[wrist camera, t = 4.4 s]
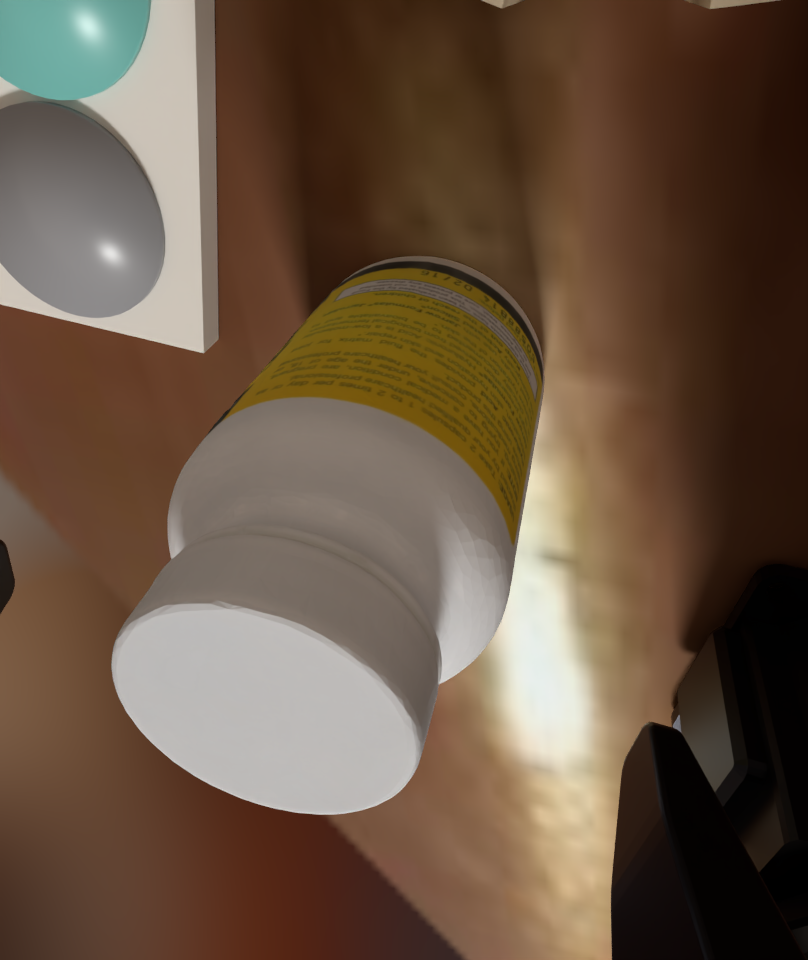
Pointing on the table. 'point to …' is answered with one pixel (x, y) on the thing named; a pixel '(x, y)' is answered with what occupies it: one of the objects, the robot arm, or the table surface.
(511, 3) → the beech block
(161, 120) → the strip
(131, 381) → the table surface
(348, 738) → the supplement bottle
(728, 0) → the beech block
